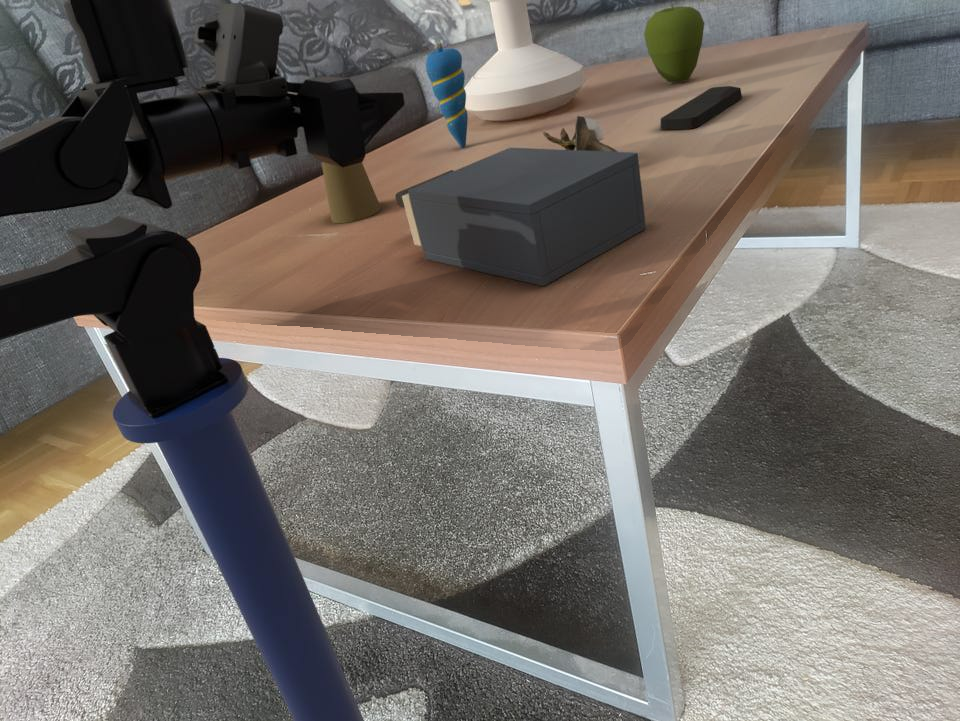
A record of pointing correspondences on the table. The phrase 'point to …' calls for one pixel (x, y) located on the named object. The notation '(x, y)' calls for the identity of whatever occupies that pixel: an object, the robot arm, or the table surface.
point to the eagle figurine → (582, 137)
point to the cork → (349, 193)
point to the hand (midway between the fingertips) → (372, 94)
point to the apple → (675, 41)
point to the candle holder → (520, 71)
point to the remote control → (701, 108)
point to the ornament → (449, 89)
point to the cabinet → (530, 211)
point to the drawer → (405, 202)
